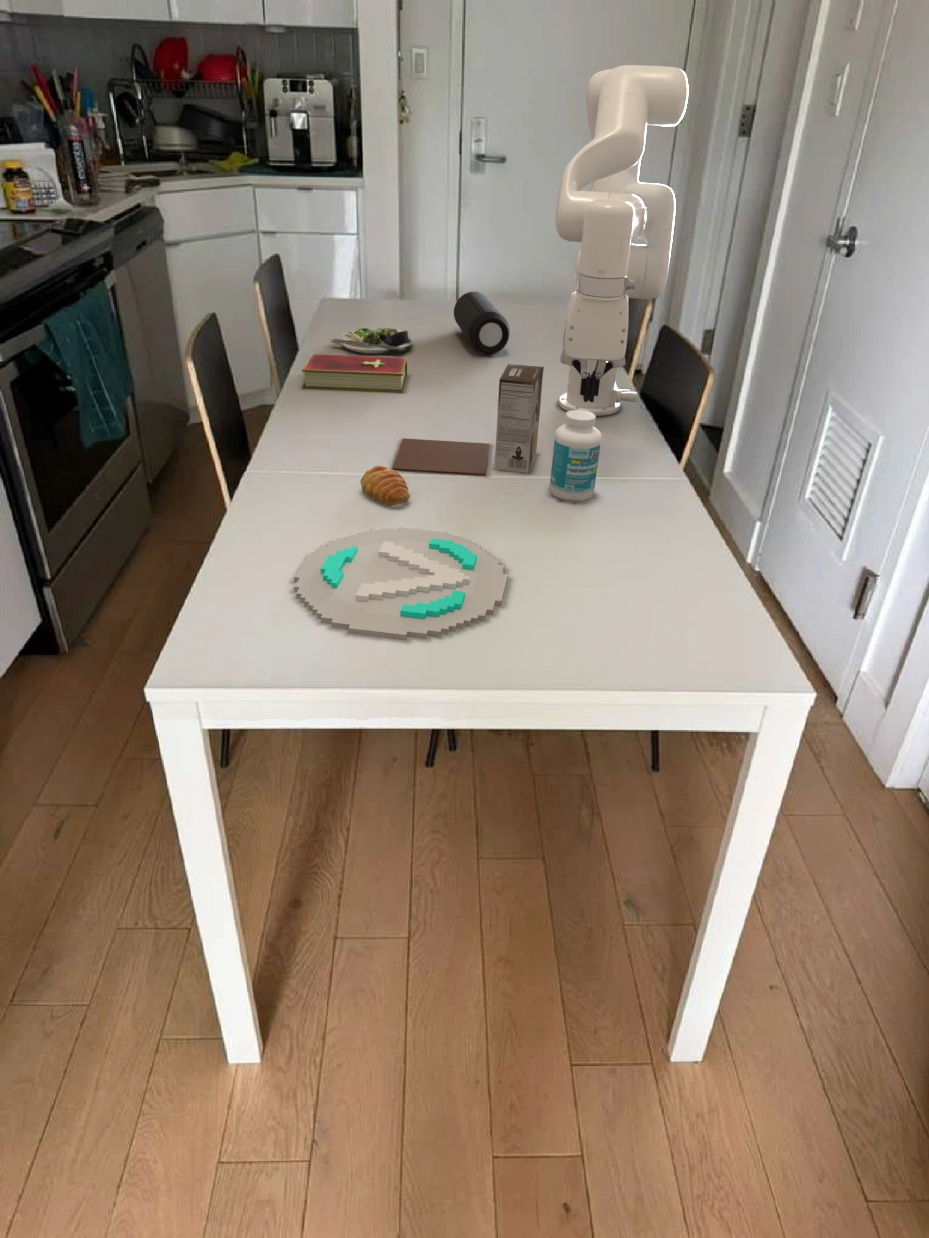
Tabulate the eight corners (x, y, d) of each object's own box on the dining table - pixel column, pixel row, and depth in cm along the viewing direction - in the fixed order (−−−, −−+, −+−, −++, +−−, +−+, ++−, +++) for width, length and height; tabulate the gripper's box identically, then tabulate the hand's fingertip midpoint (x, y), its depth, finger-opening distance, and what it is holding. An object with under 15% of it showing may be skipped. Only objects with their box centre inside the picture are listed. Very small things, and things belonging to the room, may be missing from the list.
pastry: (420, 503, 140) (420, 481, 138) (382, 512, 137) (381, 490, 135) (392, 482, 147) (392, 460, 145) (356, 490, 144) (355, 468, 142)
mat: (489, 445, 162) (489, 443, 162) (485, 476, 151) (485, 473, 150) (402, 440, 163) (402, 438, 163) (392, 470, 151) (392, 468, 151)
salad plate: (332, 358, 205) (331, 337, 202) (329, 336, 219) (329, 317, 217) (415, 357, 208) (415, 337, 205) (407, 336, 222) (407, 317, 220)
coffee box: (502, 450, 161) (507, 362, 152) (536, 454, 160) (544, 366, 151) (493, 469, 153) (498, 378, 144) (529, 474, 152) (537, 382, 143)
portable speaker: (511, 357, 210) (513, 314, 205) (470, 358, 208) (471, 314, 203) (488, 329, 231) (490, 289, 226) (451, 329, 229) (452, 289, 224)
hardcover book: (312, 371, 196) (311, 352, 194) (407, 375, 196) (407, 356, 194) (303, 388, 186) (301, 368, 183) (402, 392, 186) (402, 372, 184)
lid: (489, 650, 107) (490, 639, 106) (267, 623, 110) (266, 612, 109) (516, 544, 130) (516, 534, 129) (332, 524, 133) (331, 515, 132)
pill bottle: (564, 506, 142) (573, 425, 134) (540, 488, 147) (547, 410, 140) (603, 498, 145) (613, 419, 137) (577, 481, 150) (586, 404, 143)
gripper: (646, 283, 142) (630, 395, 152) (553, 279, 143) (543, 390, 153) (651, 294, 136) (634, 409, 146) (554, 289, 137) (544, 404, 146)
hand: (588, 399), depth 149 cm, fingers closed
